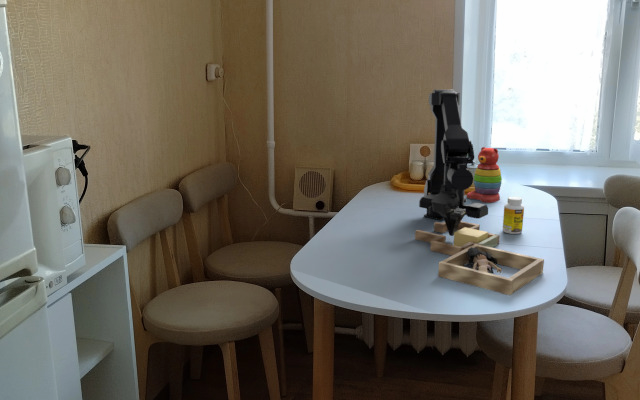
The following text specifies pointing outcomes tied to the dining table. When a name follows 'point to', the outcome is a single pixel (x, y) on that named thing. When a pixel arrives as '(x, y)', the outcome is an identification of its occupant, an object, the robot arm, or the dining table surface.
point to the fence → (457, 272)
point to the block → (469, 236)
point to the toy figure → (482, 260)
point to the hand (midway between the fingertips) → (451, 235)
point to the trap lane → (442, 247)
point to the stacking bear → (487, 177)
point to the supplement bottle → (513, 215)
